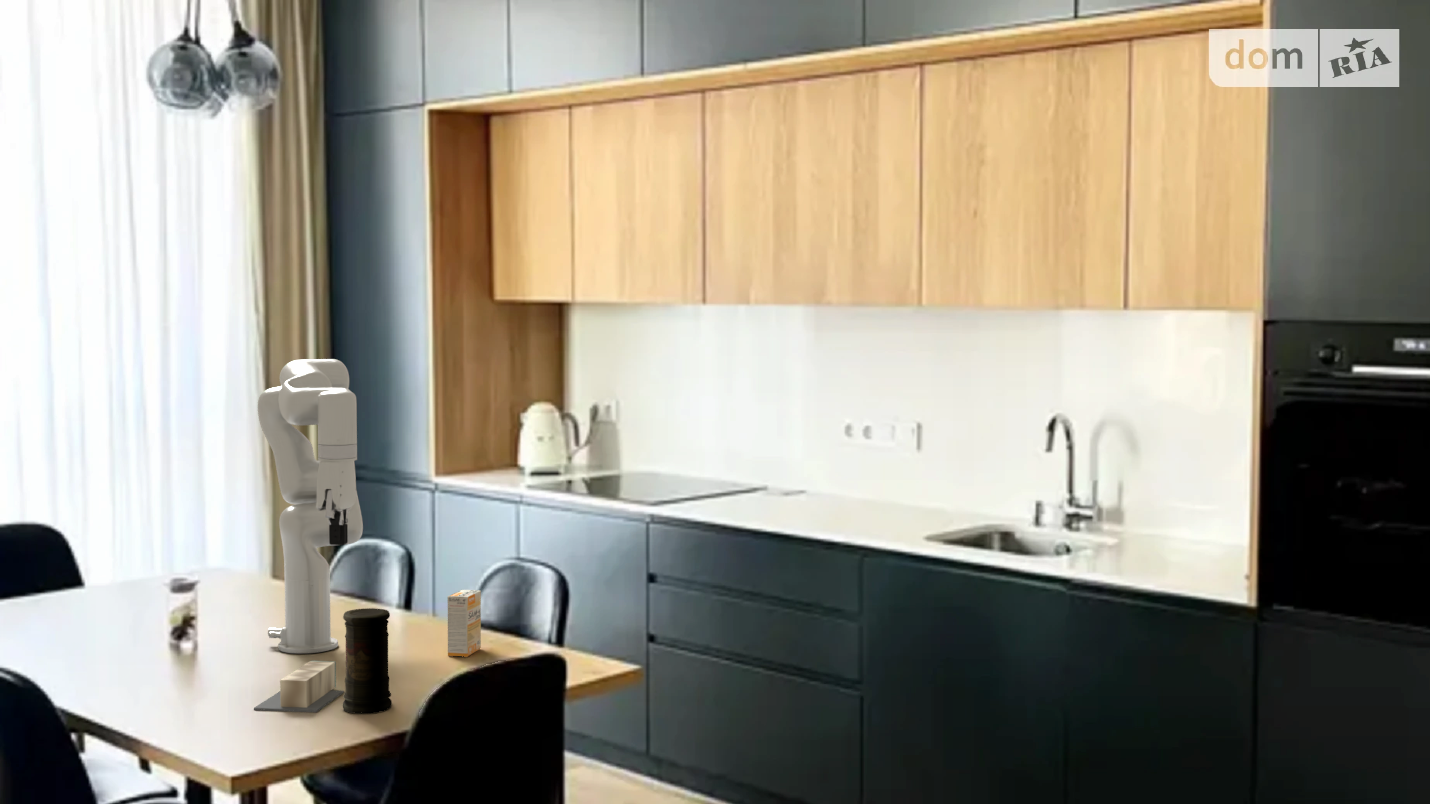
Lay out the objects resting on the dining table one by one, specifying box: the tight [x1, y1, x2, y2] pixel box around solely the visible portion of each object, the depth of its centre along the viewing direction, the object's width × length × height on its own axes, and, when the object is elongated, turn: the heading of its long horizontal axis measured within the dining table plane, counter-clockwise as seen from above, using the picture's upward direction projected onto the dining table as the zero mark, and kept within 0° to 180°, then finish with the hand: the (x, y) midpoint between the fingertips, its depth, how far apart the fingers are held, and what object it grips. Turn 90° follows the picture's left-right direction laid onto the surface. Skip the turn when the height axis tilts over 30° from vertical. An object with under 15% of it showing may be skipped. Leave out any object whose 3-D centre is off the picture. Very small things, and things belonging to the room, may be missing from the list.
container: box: [341, 607, 393, 715], centre depth 275 cm, size 9×9×18 cm
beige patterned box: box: [279, 660, 337, 708], centre depth 281 cm, size 5×5×15 cm
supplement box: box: [447, 589, 482, 658], centre depth 318 cm, size 8×5×13 cm, turn 168°
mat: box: [253, 689, 345, 713], centre depth 279 cm, size 12×14×1 cm
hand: (338, 543), depth 296 cm, fingers closed
